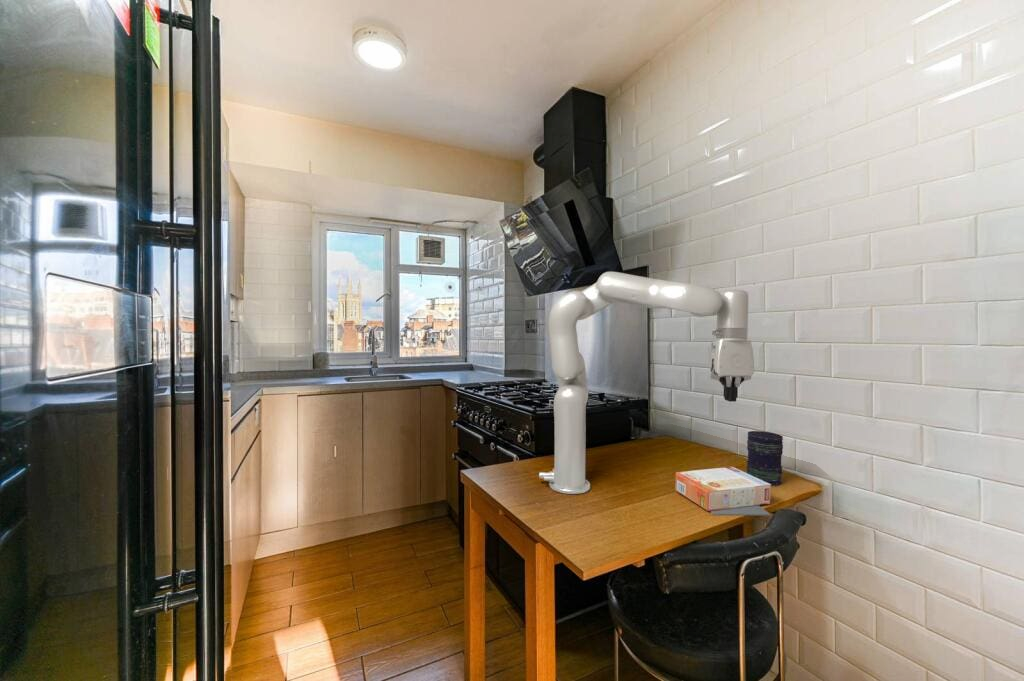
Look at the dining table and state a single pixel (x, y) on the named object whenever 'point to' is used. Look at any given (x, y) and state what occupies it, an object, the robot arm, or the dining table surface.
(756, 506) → the mat
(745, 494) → the cracker box
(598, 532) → the dining table surface
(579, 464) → the robot arm
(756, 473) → the storage jar
